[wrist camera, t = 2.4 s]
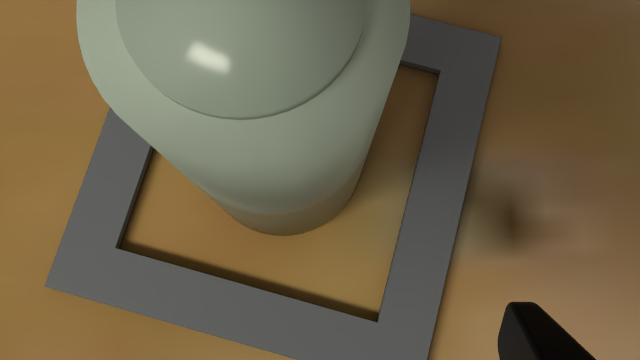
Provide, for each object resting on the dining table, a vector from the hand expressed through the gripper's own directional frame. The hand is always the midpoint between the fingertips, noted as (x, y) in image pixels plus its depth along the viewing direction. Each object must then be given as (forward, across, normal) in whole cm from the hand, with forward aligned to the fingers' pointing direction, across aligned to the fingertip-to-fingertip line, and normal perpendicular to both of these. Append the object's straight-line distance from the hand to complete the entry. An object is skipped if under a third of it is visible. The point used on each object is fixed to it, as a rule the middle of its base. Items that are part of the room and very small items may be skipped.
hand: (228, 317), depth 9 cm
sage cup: (+12, 0, +5) cm, 13 cm away
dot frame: (+12, 0, +5) cm, 13 cm away
